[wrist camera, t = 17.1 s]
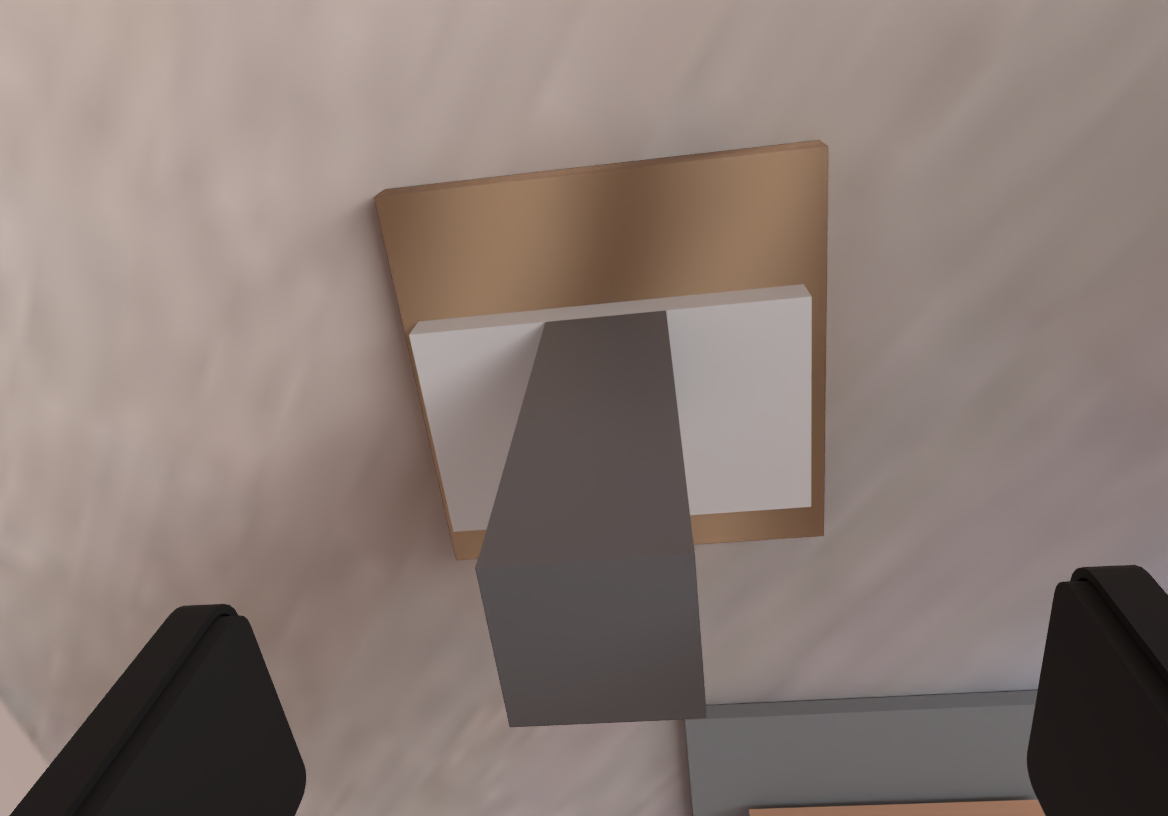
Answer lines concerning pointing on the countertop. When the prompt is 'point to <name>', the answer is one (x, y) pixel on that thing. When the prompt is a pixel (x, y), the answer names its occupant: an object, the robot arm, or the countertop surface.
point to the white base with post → (612, 480)
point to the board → (623, 262)
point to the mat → (861, 752)
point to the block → (915, 809)
